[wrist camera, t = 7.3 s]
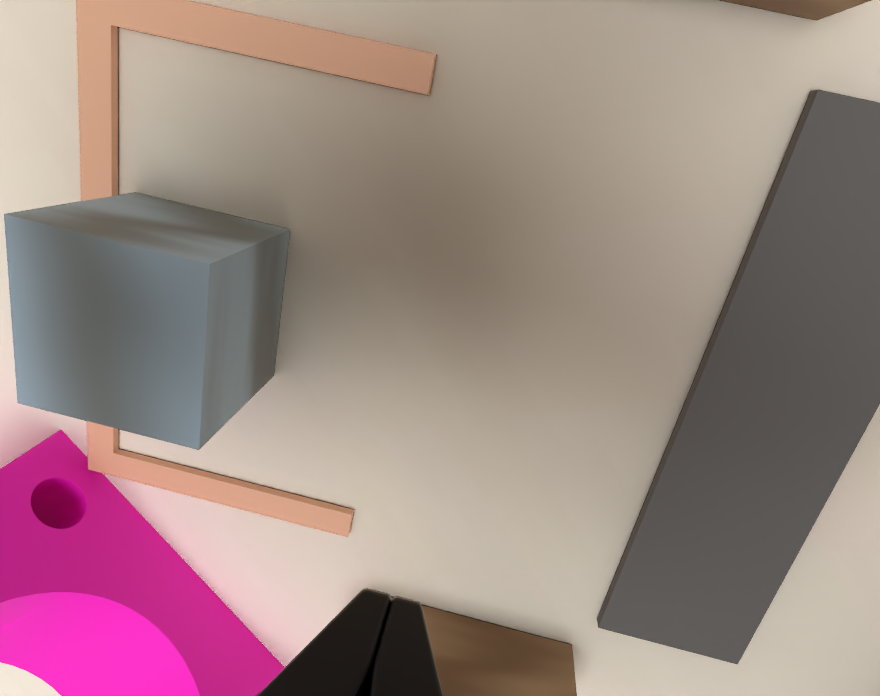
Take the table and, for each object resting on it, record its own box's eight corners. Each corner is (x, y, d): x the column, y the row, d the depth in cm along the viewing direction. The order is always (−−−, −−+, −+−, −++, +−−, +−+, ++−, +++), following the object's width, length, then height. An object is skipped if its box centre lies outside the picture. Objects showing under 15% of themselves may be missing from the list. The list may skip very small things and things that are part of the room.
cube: (291, 228, 18) (210, 263, 13) (275, 374, 20) (198, 449, 15) (136, 191, 18) (4, 214, 14) (135, 339, 20) (17, 402, 15)
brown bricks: (847, -57, 14) (968, -126, 10) (560, 674, 23) (567, 782, 19) (511, -124, 14) (505, -214, 10) (359, 621, 23) (327, 716, 19)
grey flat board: (1014, 133, 14) (1026, 134, 14) (733, 654, 21) (737, 664, 21) (811, 91, 15) (818, 90, 14) (597, 618, 21) (598, 627, 21)
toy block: (-30, 498, 24) (-259, 652, 17) (64, 426, 22) (-150, 566, 15) (214, 737, 27) (106, 949, 20) (314, 693, 25) (234, 911, 18)
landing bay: (436, 55, 16) (435, 53, 15) (350, 531, 21) (347, 537, 21) (83, -21, 16) (76, -24, 16) (93, 464, 22) (88, 469, 22)
